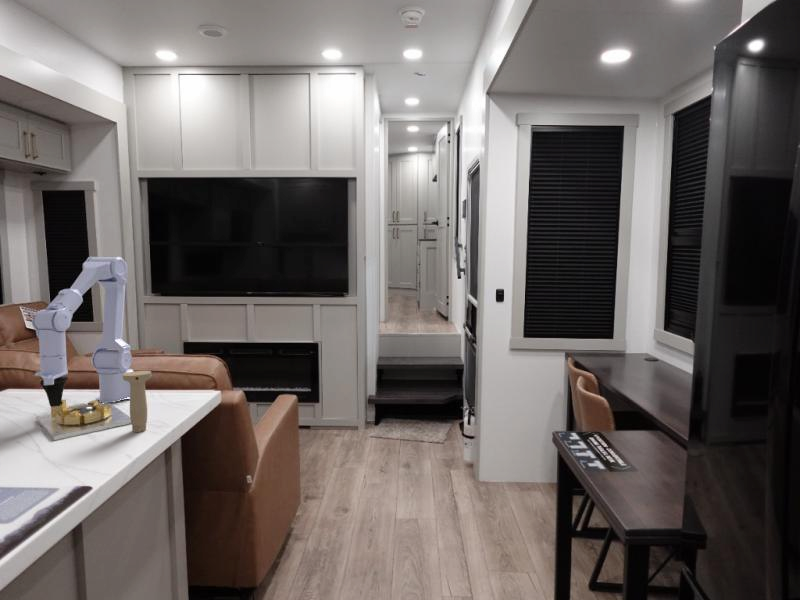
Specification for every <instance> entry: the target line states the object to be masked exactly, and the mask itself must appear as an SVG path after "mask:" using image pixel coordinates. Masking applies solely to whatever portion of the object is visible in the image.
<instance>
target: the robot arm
mask: <svg viewBox="0 0 800 600" xmlns="http://www.w3.org/2000/svg"><path fill="white" fill-rule="evenodd" d="M128 267H129V266H128V264H127V263H126V261H125V260H124V258H122V257H121V256H116V257H114V256H111V257H110V256H108V257H106V256H105V257H104V256H88V257H87V259H86V260H85V261H84V262H83V263H82V270H81V272H80V274H79V275H78V276H77V278H76V280H75V281H74V282H73V284H72V285H71V286H70V288H64V289H62V290H60V291H58V293H57V294H58V295H56V296H55V298H54V299H53V300H52V301H51V302H50V303H49V304H48V305H47V307H45V308H44V309H40V310H39V311H37V312H36V313H35V314H34V315H33V317H32V318H33V320H32V321H31V324H32V327H33V329H34V330H35V333H36V337H37V338H38V344H39V367H40V368H39V369H40V371H37V372H35V374H34V376H35V377H41V378H42V379H41V381H40V382H39V383H40V386H41V387H42V389H44V392H45V394H46V396H47V400H48V404H49V406H50V408H51V407H54V406H60V405H61V401H62V400H63V393H64V389H65V386H66V383H67V381H68V379H69V378H68V377H67V375H68V373H69V370H68V363H67V361H68V359H67V340H66V331H67V330H68V329H69V328H70V326H71V323H72V319H73V316H74V315H73V314H74V313H75V312H76V311H77V310H78V309H79V307H80V306H81V304H83V302H84V299H83V296H84V294H85V293H87V291H88V290H89V289H90V288H91V287H93V285H94V284H95V283H98V284H99V285H101V286H102V287H103V288H104V291H105V294H104V305H103V307H104V308H103V324H102V340H100V341H99V342H98V343H97V344H95V345H94V348H93V354H91V357H90V358H91V359H90V362H91V365H92V368H94V370H96V373H98V384H99V396H97V397H95V400H96V399H97V400H96V401H98V400H99V401H100V402H99V401H98V402H99V403H101V402H102V403H108V402H113V401H118V400H120V399H121V400H122V399H124V398H127V397H130V383H129V382H127V381H125V380H123V374H124V373H128V372H134V369H132V368H130V367H131V365H132V362H133V357H132V353H131V345H130V344H129V343H127V342H126V341H125V340H123V329H124V316H125V315H124V314H125V313H124V311H125V296H126V285H127V283H128ZM65 375H66V376H65ZM113 403H114V402H113ZM108 404H109V403H108Z"/></svg>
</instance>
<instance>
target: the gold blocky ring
mask: <svg viewBox="0 0 800 600" xmlns="http://www.w3.org/2000/svg"><path fill="white" fill-rule="evenodd" d="M84 405H92V406H93V411H90V412H86V413H80V411H75V408H76V407H79V406H84ZM111 413H112V410H111V406H110V405H109V403H108V404H107V403H104V404H103V403H101V402H99V401H98V400H91V401H88V402H87V403H81V404H74V405H70V406H68V407H67V399H62V401H61V405H60V406H54V407H51V406H50V414H51V418H56V421H57V422H59V423H60V424H64V425H68V424H81V423H85V424H86V423H90V422H94V421H99V420H101V419H105V418H106V417H108V416H109V415H111Z"/></svg>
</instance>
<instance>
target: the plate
mask: <svg viewBox="0 0 800 600" xmlns="http://www.w3.org/2000/svg"><path fill="white" fill-rule="evenodd" d="M108 404H109V405H110V406H111V410H112V413H111V415H109V416H108V417H106V418H105V419H101V420H99V421H94V422H90V423H86V424H85V423H81V424H68V425H64V424H60V423H59V422H57V421H56V418H51V413H50V414H47V415H41V416H37V417H35V421H36V420H37V421H36V423H37V424H38V425H40V427H41V426H42V427H43V428H42V427H41V428H42V429H43V430H44V432H46V433H47V434H48V436H49V437H50V438H51V439H52V440H53V441H58V440H64V439H66V438H67V439H68V438H72V437H77V436H80V435H81V436H82V435H85V434H89V433H90V434H91V433H95V432H99V430H100V431H103V429H104V430H108V429H107V428H109V429H112V428H111V427H113V428H116V427H115V426H118V427H121V426H120V425H122V426H125V425H124V424H127V425H130V424H129V423H131V419H130V415H128V414H127V413H125V412H123V411H122V410H121V409H119V408H118V407H116V406H115V405H113V404H112V403H108ZM75 411H80V413H86V412H90V411H93V406H92V405H84V406H79V407H76V408H75Z"/></svg>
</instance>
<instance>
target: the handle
mask: <svg viewBox="0 0 800 600" xmlns="http://www.w3.org/2000/svg"><path fill="white" fill-rule="evenodd" d="M133 371H134V370H133ZM150 378H152V371H150V370H136V371H134V372H128V373H124V374H123V380H125V381H127V382H129V383H130V399H129V416H130V419H131V430H132V432H133V433H141V432H144V431H146V430H147V423H148V403H147V394H146V393H147V392H146V382H147V381H148V380H150Z"/></svg>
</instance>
